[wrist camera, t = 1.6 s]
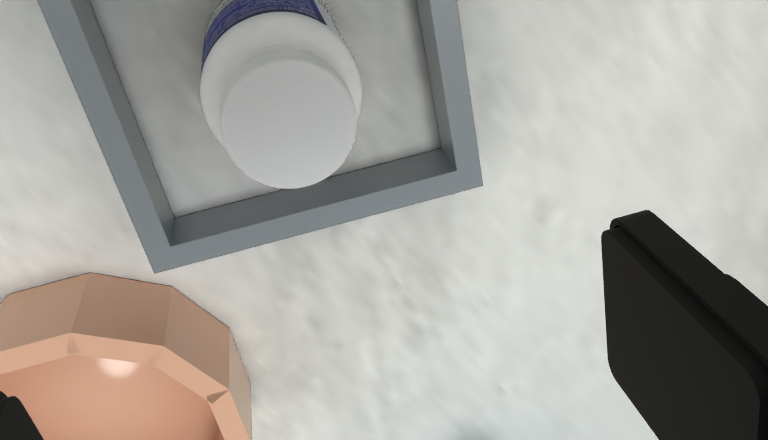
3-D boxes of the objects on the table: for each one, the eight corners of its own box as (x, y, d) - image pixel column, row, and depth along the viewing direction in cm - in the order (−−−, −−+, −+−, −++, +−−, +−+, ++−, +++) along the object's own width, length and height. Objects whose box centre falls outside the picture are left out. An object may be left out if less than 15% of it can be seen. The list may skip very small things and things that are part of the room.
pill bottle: (175, 51, 28) (154, 131, 20) (267, -51, 27) (283, -8, 19) (277, 138, 30) (293, 240, 22) (365, 48, 29) (415, 122, 21)
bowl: (-102, 323, 31) (-149, 391, 27) (197, 244, 32) (192, 299, 28) (30, 519, 37) (7, 597, 33) (275, 448, 38) (280, 516, 34)
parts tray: (17, -100, 24) (-4, -95, 22) (412, -189, 25) (429, -192, 23) (159, 243, 31) (154, 273, 29) (466, 162, 32) (482, 185, 30)
